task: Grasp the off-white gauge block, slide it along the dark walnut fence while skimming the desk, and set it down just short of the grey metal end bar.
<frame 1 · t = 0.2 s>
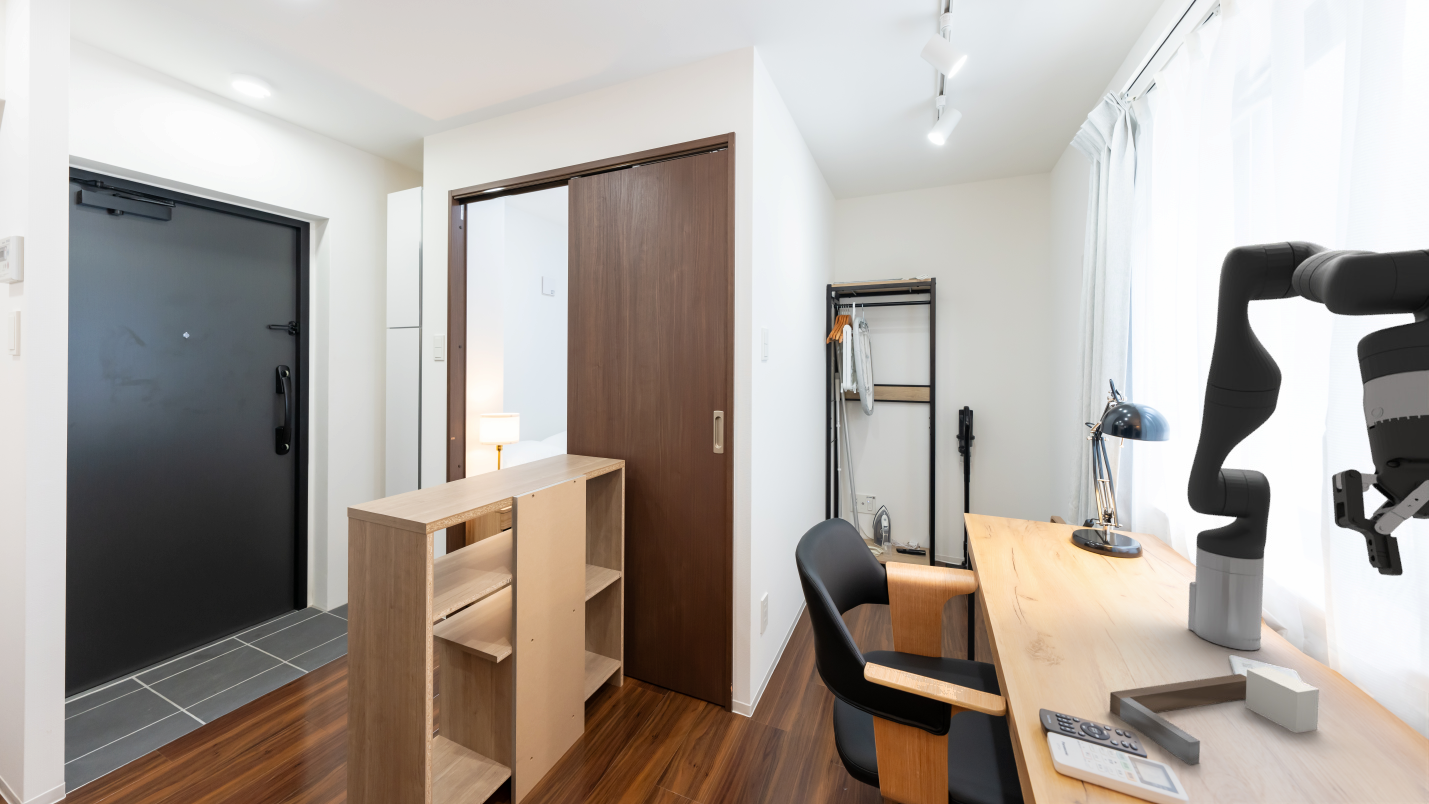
guide fence: (1205, 718, 77), on the table
external hard drive: (1268, 687, 85), on the table
gauge block: (1280, 717, 77), on the table
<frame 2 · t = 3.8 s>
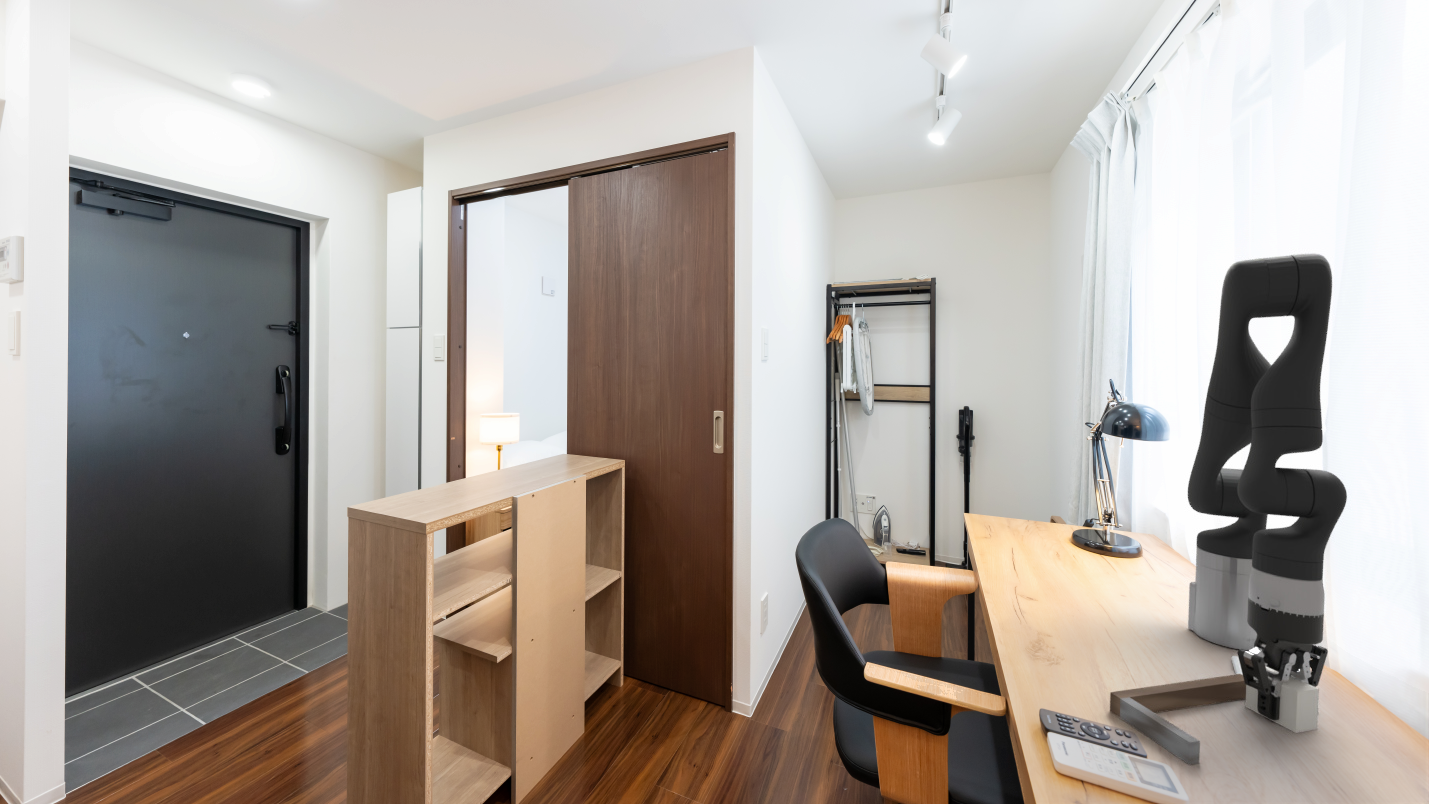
hand: (1280, 714, 77), 0 cm above the table, tool pointing down, fingers closed on gauge block, 4 cm apart
gauge block: (1280, 717, 77), on the table, touching gripper
everything else where it was.
when the fingers open (1 cm above the table, at t = 8.5 s): gauge block stays where it is, on the table.
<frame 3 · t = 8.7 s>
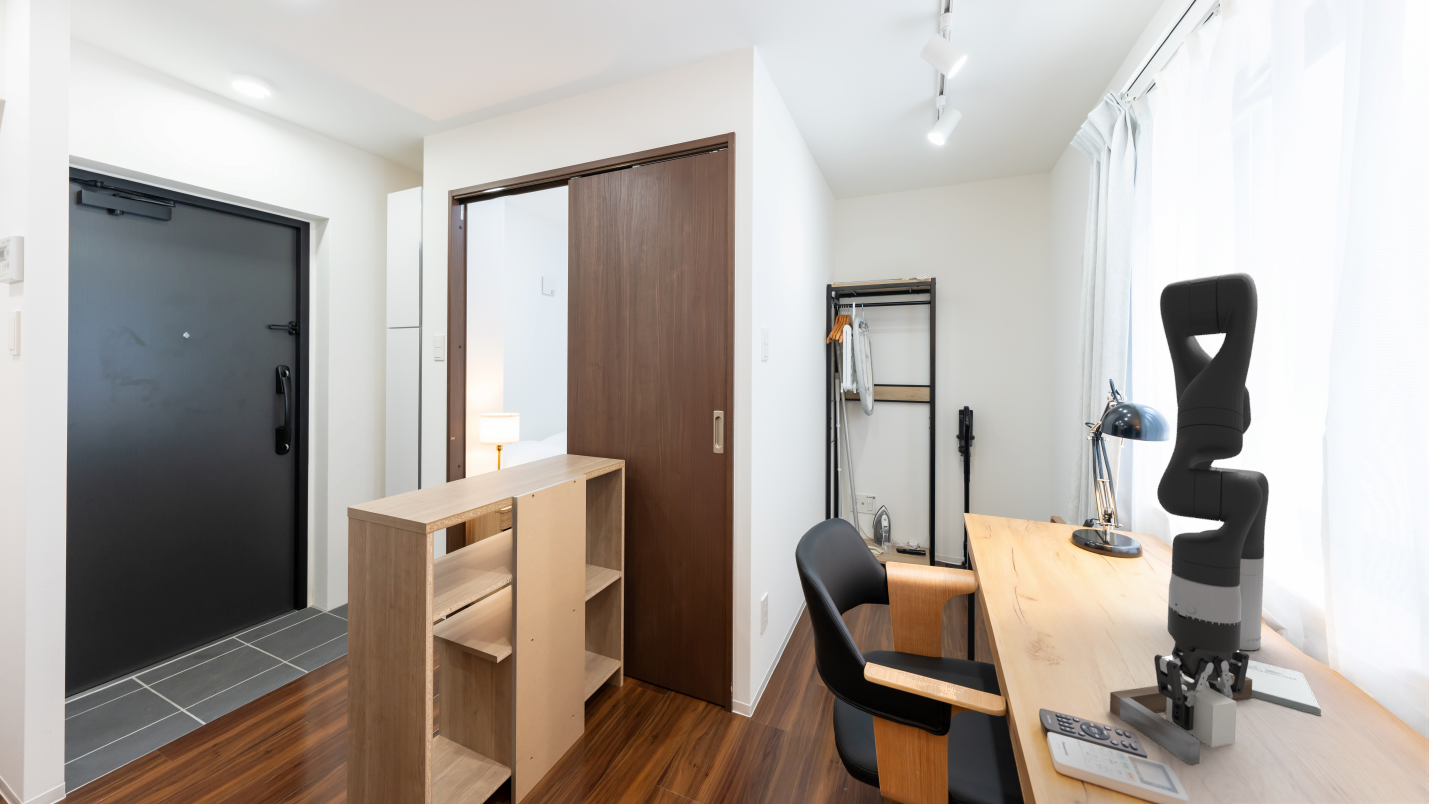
hand: (1199, 723, 74), 1 cm above the table, tool pointing down, fingers open, 5 cm apart
gauge block: (1199, 731, 74), on the table
everything else where it was.
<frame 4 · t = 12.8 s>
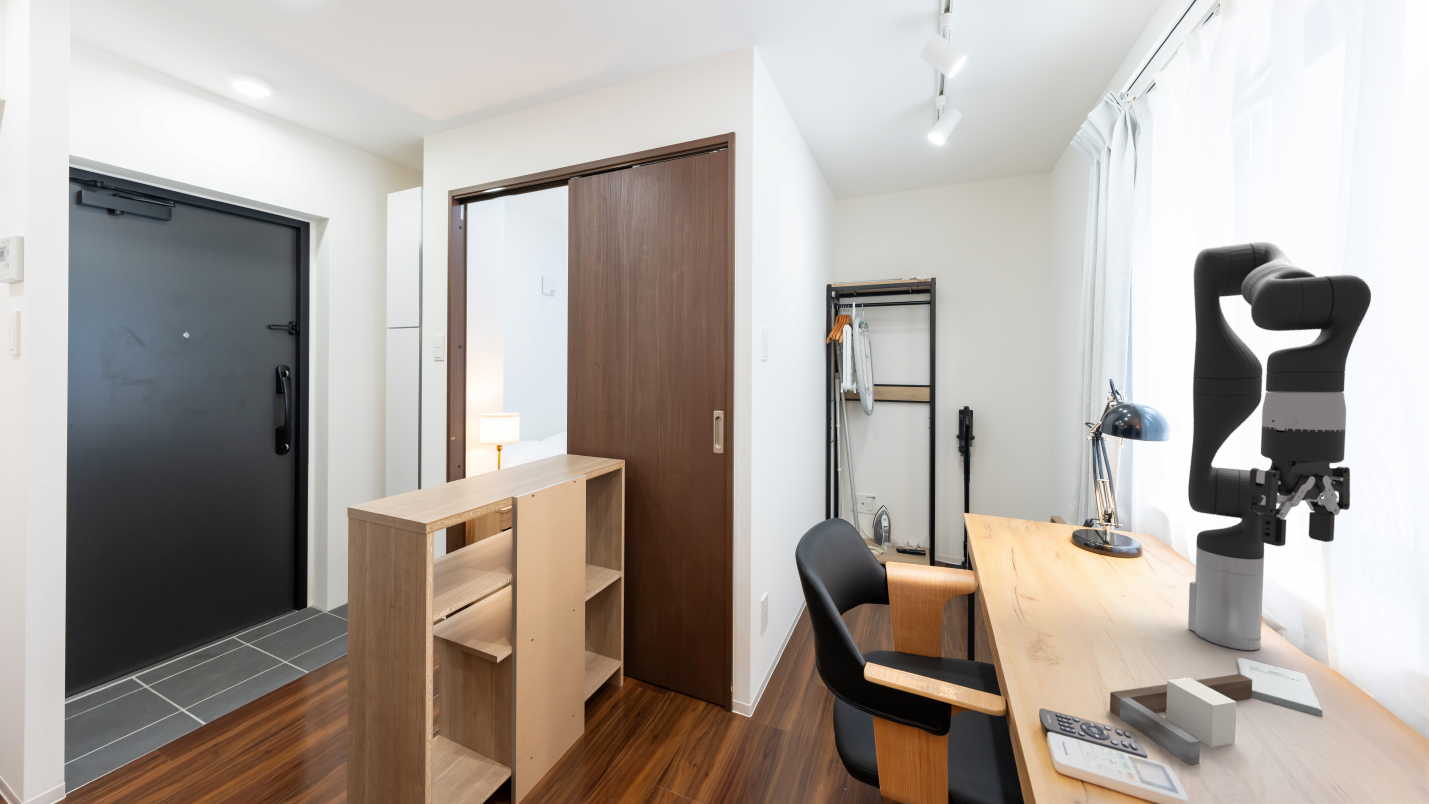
hand: (1297, 542, 71), 28 cm above the table, tool pointing down, fingers open, 8 cm apart
at the end: gauge block inside the target area (0.2 cm from its centre), on the table; gauge block tilted 0°; the gripper is holding nothing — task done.
